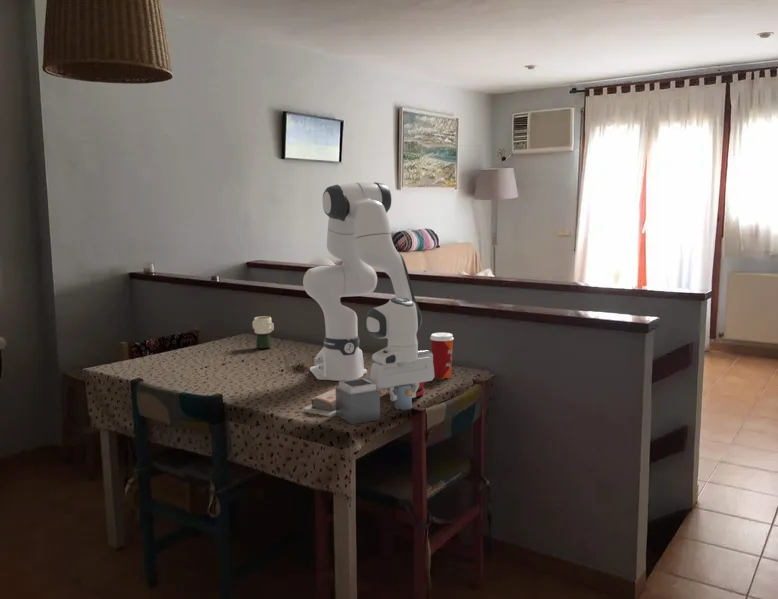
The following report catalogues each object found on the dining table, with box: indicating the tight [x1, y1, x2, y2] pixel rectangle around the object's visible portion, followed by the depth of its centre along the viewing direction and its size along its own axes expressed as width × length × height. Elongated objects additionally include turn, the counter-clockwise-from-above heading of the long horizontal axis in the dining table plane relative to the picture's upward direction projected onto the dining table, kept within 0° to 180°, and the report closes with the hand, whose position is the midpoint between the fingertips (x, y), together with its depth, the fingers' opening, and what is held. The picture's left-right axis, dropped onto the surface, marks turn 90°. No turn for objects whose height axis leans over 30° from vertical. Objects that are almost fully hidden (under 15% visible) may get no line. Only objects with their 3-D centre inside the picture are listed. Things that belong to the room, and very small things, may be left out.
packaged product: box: [303, 386, 339, 418], centre depth 201 cm, size 18×5×10 cm
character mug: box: [251, 315, 275, 349], centre depth 281 cm, size 11×7×13 cm, turn 62°
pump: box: [394, 384, 413, 411], centre depth 198 cm, size 7×5×7 cm
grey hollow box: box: [335, 377, 381, 425], centre depth 191 cm, size 10×9×10 cm
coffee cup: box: [429, 332, 455, 380], centre depth 232 cm, size 8×8×15 cm
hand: (403, 399), depth 199 cm, fingers closed on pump, 5 cm apart
